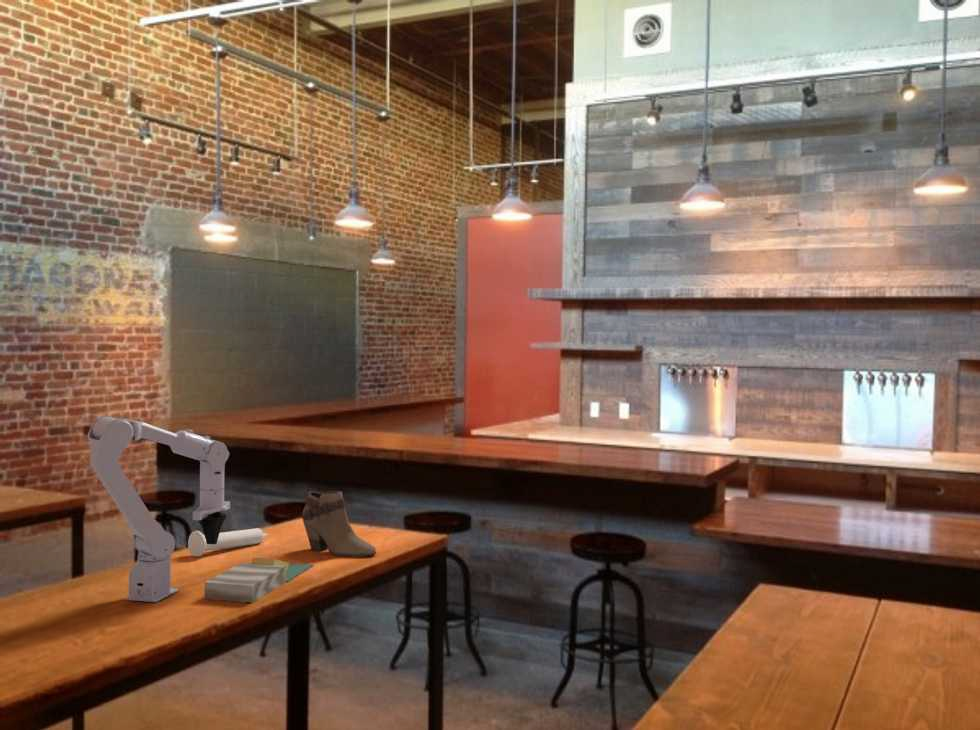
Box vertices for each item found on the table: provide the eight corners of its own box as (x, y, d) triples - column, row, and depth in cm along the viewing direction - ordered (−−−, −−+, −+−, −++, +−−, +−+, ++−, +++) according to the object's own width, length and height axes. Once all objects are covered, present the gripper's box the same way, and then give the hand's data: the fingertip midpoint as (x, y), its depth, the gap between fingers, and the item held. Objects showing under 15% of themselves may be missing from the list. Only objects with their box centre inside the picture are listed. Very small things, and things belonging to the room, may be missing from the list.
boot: (368, 559, 240) (369, 497, 239) (294, 551, 247) (294, 491, 246) (381, 552, 248) (382, 492, 247) (308, 545, 255) (309, 487, 254)
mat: (287, 582, 216) (287, 580, 216) (239, 578, 219) (239, 577, 219) (313, 565, 232) (313, 564, 232) (268, 562, 235) (268, 561, 235)
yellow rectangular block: (273, 567, 217) (274, 559, 218) (251, 565, 218) (252, 557, 219) (287, 570, 225) (288, 563, 226) (266, 569, 226) (267, 561, 227)
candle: (190, 527, 241) (262, 519, 261) (185, 551, 241) (257, 541, 262) (205, 536, 237) (277, 527, 257) (200, 561, 237) (272, 550, 258)
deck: (252, 603, 199) (252, 585, 199) (204, 599, 201) (204, 582, 201) (286, 581, 216) (286, 565, 216) (241, 578, 219) (241, 562, 219)
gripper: (211, 494, 205) (211, 551, 206) (241, 484, 219) (240, 538, 220) (184, 493, 207) (184, 549, 207) (215, 483, 221) (215, 536, 221)
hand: (211, 543), depth 214 cm, fingers closed
